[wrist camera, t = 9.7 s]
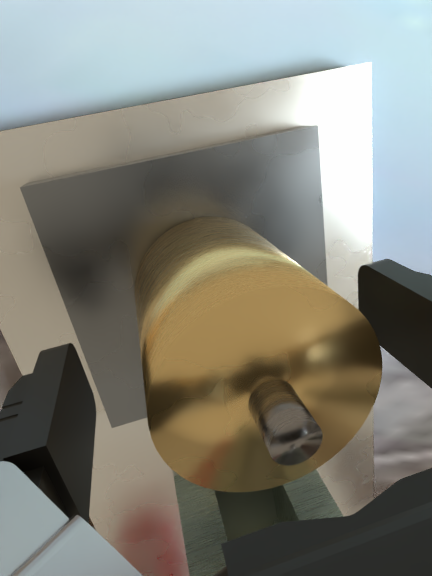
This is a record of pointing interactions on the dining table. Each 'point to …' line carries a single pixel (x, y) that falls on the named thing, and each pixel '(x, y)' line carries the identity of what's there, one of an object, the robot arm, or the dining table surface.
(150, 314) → the cylinder
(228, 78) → the dining table surface
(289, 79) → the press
